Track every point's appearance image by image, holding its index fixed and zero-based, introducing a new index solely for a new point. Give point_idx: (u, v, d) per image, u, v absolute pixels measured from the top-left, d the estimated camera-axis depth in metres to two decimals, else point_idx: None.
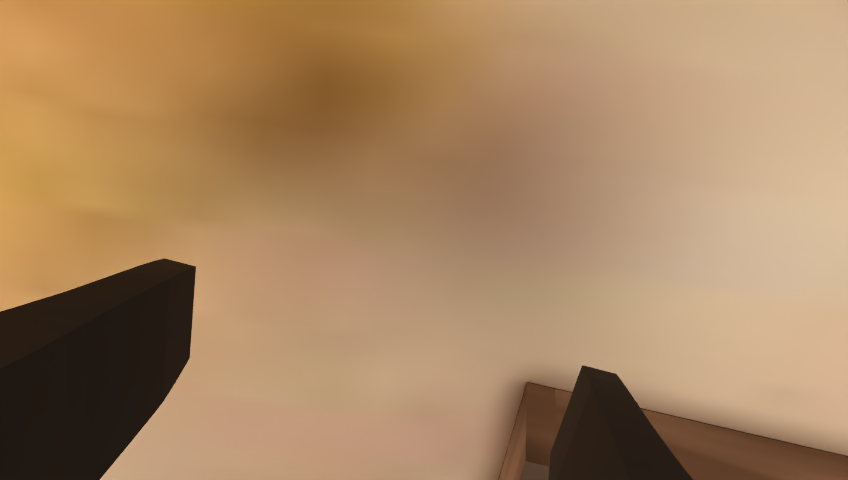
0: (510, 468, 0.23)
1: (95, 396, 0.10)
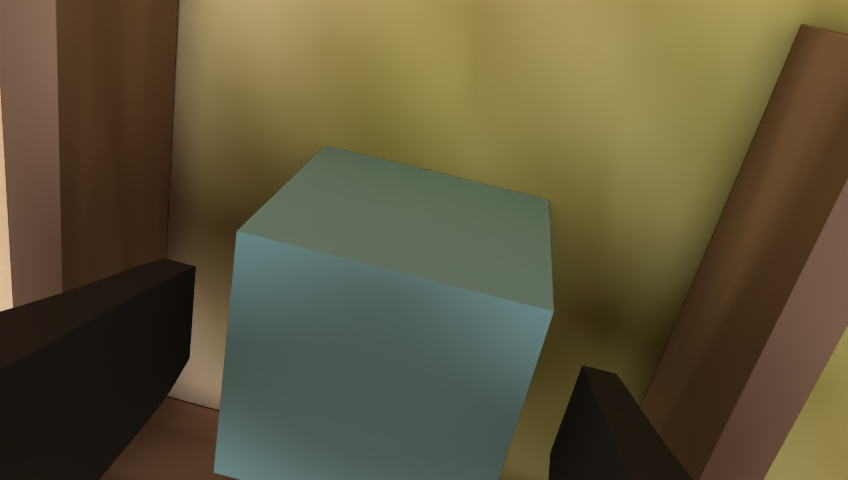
0: None
1: (95, 396, 0.10)
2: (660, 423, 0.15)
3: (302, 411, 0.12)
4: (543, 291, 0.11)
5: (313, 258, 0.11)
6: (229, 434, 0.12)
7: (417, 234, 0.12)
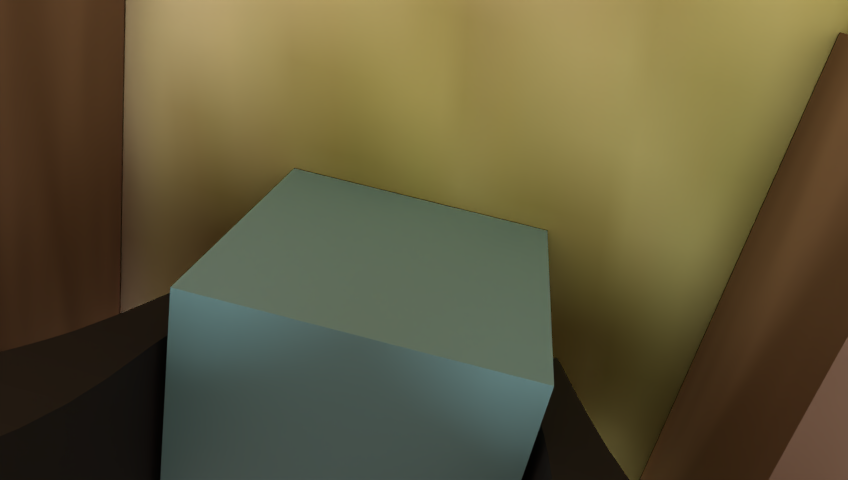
0: None
1: (161, 414, 0.10)
2: None
3: None
4: (541, 357, 0.09)
5: (263, 320, 0.09)
6: None
7: (391, 283, 0.10)
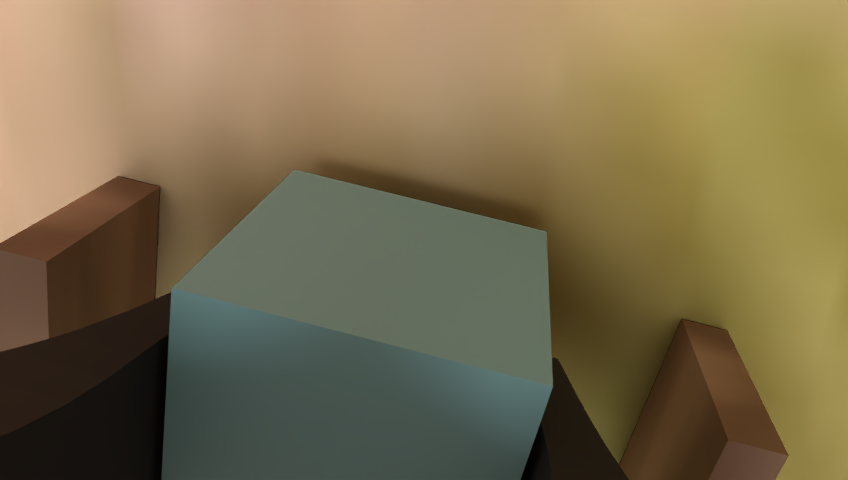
0: None
1: (161, 414, 0.10)
2: None
3: None
4: (540, 358, 0.09)
5: (263, 320, 0.09)
6: None
7: (391, 284, 0.10)
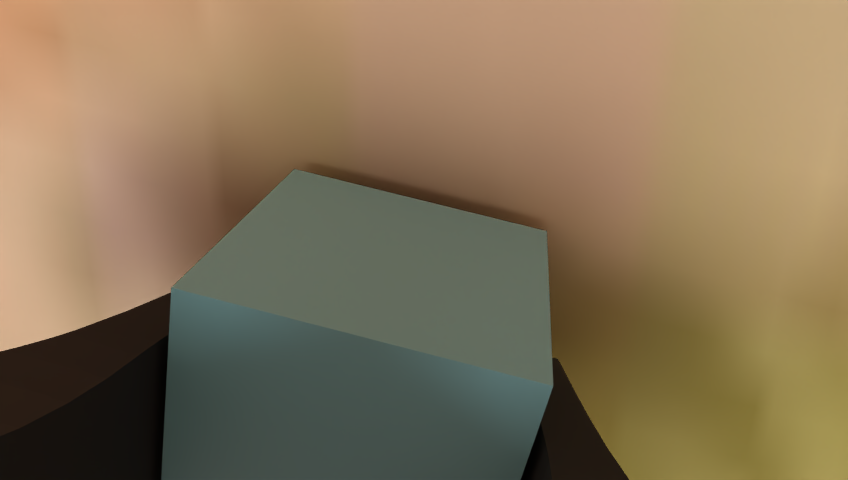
0: None
1: (161, 414, 0.10)
2: None
3: None
4: (540, 357, 0.09)
5: (263, 319, 0.09)
6: None
7: (391, 283, 0.10)
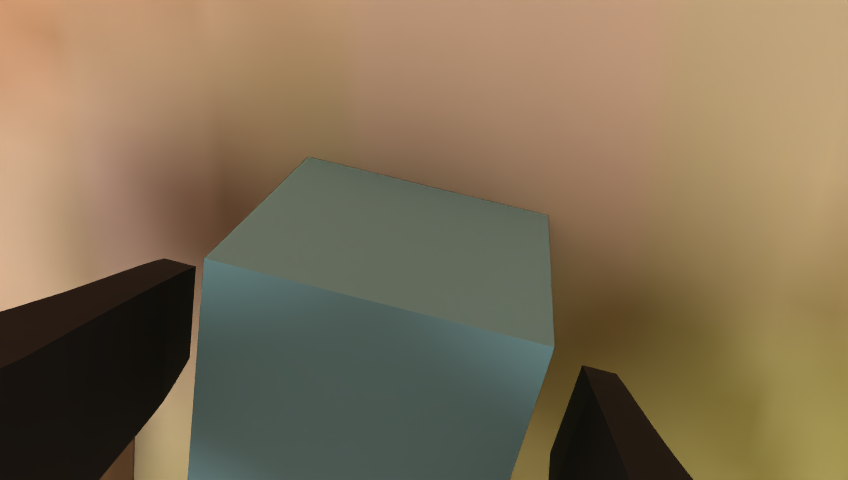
0: None
1: (95, 396, 0.10)
2: None
3: (279, 451, 0.11)
4: (542, 323, 0.10)
5: (288, 288, 0.10)
6: (201, 475, 0.11)
7: (404, 258, 0.11)
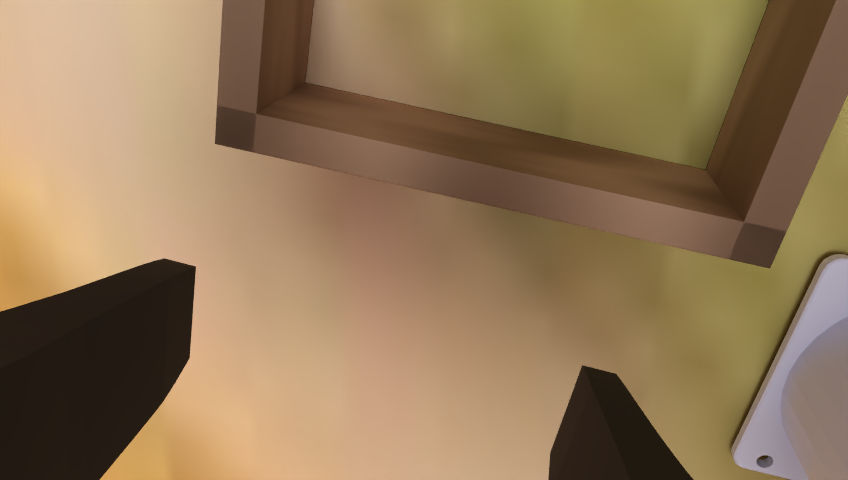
0: None
1: (95, 396, 0.10)
2: (779, 27, 0.17)
3: None
4: None
5: None
6: None
7: None
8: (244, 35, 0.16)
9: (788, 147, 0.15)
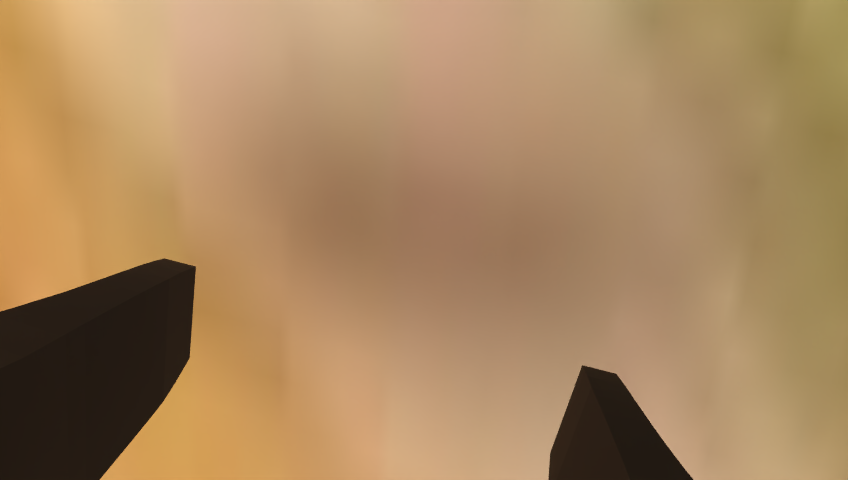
0: None
1: (95, 396, 0.10)
2: None
3: None
4: None
5: None
6: None
7: None
8: None
9: None
